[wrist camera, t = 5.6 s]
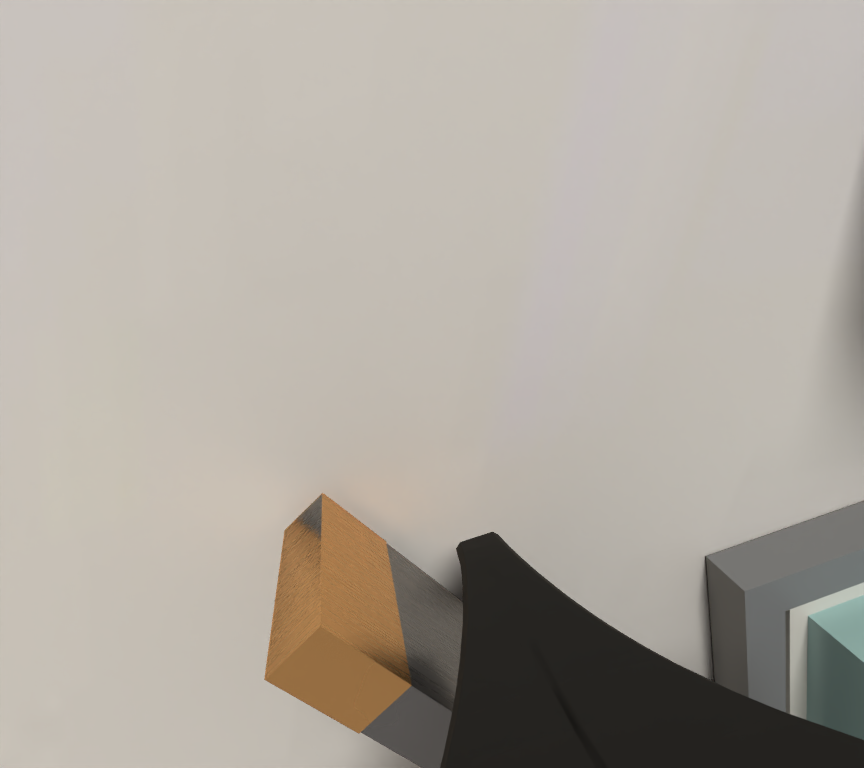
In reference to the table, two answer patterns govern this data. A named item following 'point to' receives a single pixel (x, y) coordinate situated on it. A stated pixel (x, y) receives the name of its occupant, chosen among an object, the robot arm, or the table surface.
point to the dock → (776, 596)
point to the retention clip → (365, 634)
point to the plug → (827, 661)
